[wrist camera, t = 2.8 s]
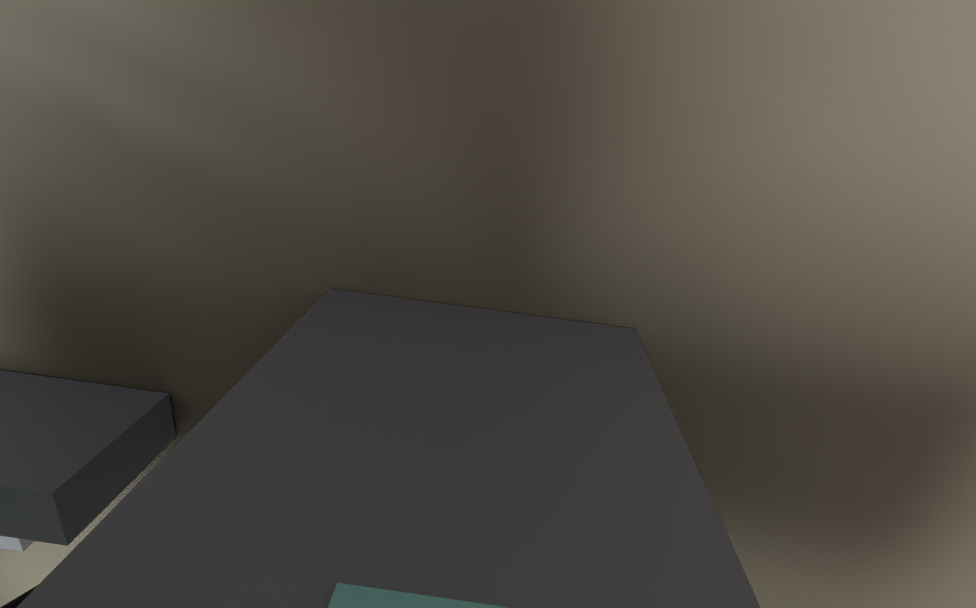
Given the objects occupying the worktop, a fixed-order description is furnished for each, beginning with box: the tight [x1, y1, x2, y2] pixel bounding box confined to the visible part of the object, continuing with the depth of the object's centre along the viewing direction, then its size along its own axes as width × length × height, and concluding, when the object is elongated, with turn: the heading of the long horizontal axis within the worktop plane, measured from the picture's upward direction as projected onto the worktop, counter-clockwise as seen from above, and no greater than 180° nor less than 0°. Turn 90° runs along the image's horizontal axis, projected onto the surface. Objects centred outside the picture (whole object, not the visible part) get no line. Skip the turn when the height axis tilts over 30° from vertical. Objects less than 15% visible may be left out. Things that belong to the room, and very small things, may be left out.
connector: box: [17, 288, 760, 608], centre depth 6 cm, size 5×5×6 cm
